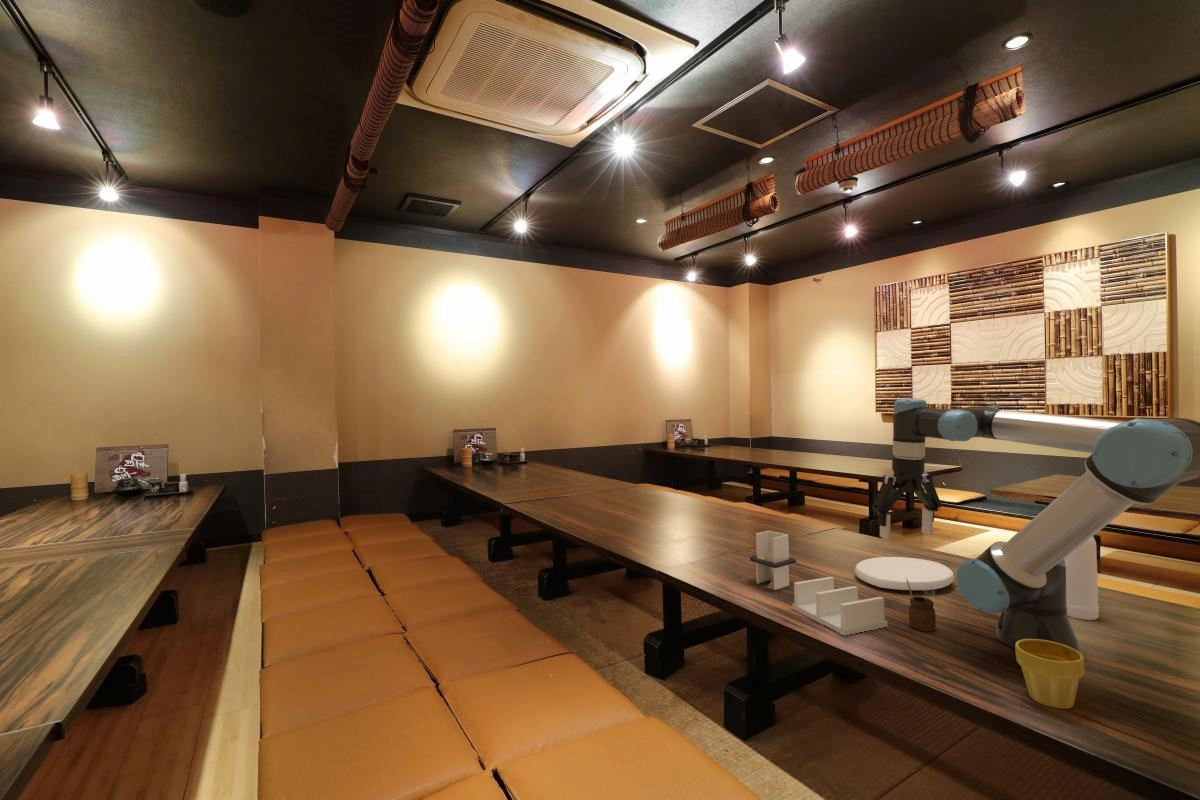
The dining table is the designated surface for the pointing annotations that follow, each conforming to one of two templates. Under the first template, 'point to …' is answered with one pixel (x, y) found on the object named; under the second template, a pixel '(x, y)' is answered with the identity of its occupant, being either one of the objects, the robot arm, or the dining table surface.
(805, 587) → the slot rack
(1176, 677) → the dining table surface
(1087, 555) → the bottle
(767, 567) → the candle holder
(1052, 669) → the plant pot
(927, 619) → the utensil holder
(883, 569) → the plate
